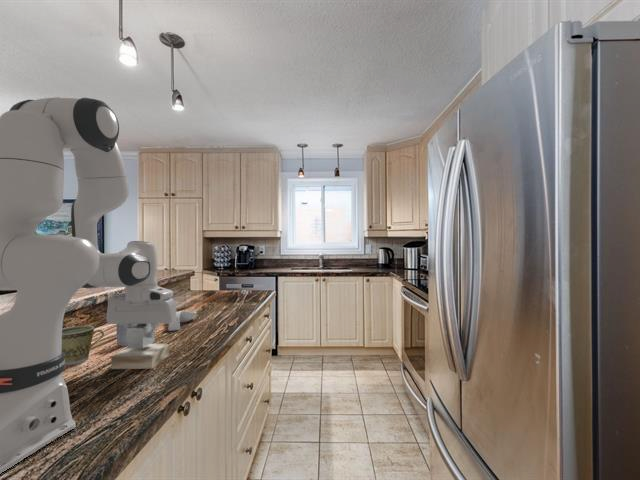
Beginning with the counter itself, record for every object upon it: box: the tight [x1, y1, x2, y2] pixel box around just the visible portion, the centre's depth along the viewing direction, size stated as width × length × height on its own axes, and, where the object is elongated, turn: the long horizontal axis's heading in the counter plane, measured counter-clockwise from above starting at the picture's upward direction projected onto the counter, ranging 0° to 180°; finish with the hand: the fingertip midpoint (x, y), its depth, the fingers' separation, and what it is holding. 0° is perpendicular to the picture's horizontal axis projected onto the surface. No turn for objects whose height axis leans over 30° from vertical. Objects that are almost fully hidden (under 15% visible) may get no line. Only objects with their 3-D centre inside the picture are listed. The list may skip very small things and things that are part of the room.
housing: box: [127, 324, 156, 348], centre depth 99 cm, size 4×7×6 cm, turn 0°
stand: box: [110, 343, 171, 370], centre depth 99 cm, size 11×12×4 cm
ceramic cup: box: [62, 325, 105, 367], centre depth 100 cm, size 13×10×10 cm
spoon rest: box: [168, 310, 197, 332], centre depth 145 cm, size 24×12×7 cm, turn 13°
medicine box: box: [115, 324, 136, 347], centre depth 118 cm, size 8×4×9 cm, turn 168°
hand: (141, 337), depth 99 cm, fingers closed on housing, 4 cm apart
